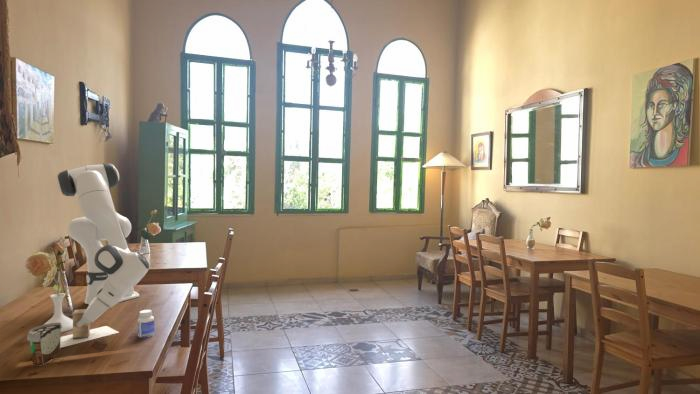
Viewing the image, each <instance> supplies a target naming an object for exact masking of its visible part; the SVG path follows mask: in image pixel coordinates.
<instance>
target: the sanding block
mask: <svg viewBox="0 0 700 394" xmlns="http://www.w3.org/2000/svg"><path fill="white" fill-rule="evenodd" d="M86 309H87V308H85V309H74V311H73V312H72V320H73V329H72V334H73V339H81V338H88V337H89V335H90V330H91V323H89V322H86V323H85V324H83V325H82V326H81V327H78V326H77V325H76V324H77V322H78V321H79V320H80V319H82V316H83V315H84V313H85V311H86Z"/></svg>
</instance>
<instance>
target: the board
mask: <svg viewBox="0 0 700 394" xmlns="http://www.w3.org/2000/svg"><path fill="white" fill-rule="evenodd" d="M119 333H120V332H119V331H117V330H116V329H114V328H112V327H110V326H108V325H103V326H100V327H96V328H90V335H89V337H88V338H81V339H73V333H72V334H68V335H63V336H61V339H60V349H61V348H64V347H69V346H73V345H76V344H81V343H85V342H87V341H88V342H89V341H92V340H96V339H100V338H104V337H107V336H112V335H115V334H119Z"/></svg>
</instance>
